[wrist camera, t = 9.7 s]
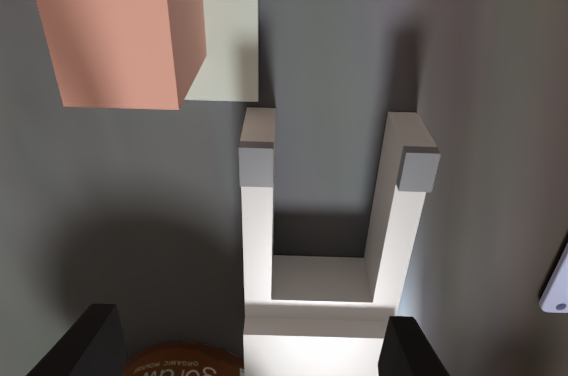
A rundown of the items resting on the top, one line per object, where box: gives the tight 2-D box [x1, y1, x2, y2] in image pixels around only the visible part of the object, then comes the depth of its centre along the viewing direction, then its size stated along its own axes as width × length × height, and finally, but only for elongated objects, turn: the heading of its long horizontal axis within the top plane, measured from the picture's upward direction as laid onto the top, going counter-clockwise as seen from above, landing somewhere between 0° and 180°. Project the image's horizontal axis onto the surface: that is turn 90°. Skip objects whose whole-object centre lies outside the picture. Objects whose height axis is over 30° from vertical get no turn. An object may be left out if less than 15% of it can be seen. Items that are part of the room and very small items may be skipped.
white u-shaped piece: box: [239, 107, 441, 376], centre depth 20 cm, size 7×13×4 cm, turn 178°
